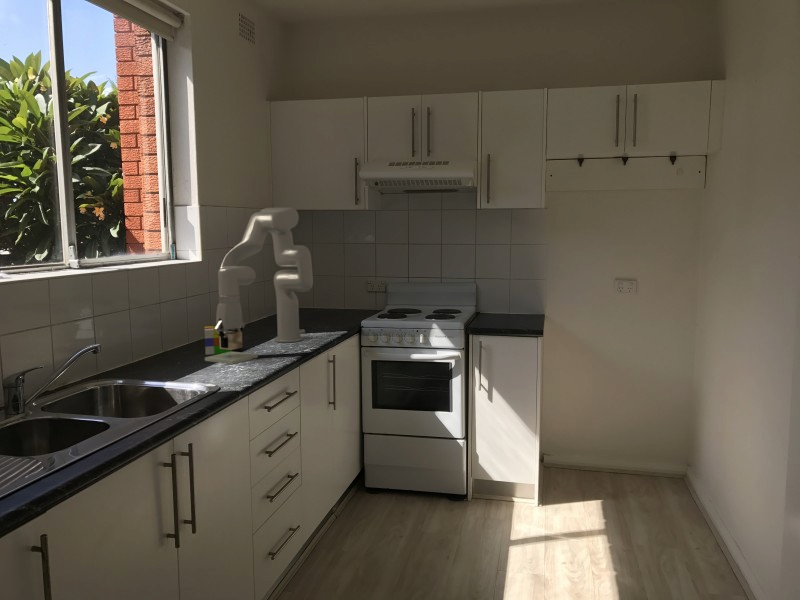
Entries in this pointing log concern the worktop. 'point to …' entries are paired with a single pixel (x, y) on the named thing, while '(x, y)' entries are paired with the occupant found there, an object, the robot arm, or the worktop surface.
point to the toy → (213, 341)
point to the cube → (233, 340)
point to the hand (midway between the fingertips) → (230, 345)
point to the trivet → (231, 357)
